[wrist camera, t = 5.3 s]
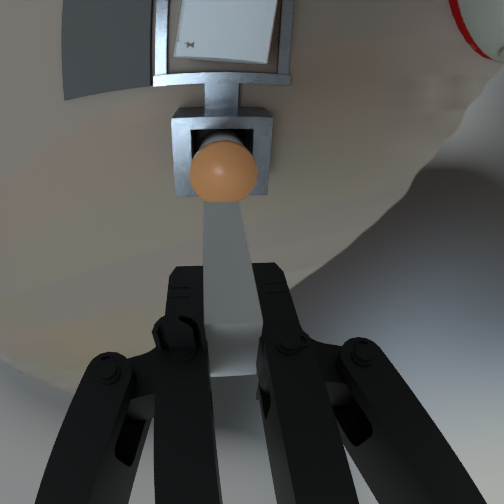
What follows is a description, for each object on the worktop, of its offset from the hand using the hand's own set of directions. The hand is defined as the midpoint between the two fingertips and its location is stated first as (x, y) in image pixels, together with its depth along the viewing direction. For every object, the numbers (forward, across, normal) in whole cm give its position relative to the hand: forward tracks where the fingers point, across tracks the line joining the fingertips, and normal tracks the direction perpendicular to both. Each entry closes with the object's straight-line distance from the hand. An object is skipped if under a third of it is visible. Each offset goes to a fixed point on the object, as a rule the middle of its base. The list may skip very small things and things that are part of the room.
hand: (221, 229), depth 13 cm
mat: (+17, -11, +11) cm, 23 cm away
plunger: (+14, +1, -1) cm, 14 cm away
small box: (+17, 0, +11) cm, 21 cm away
